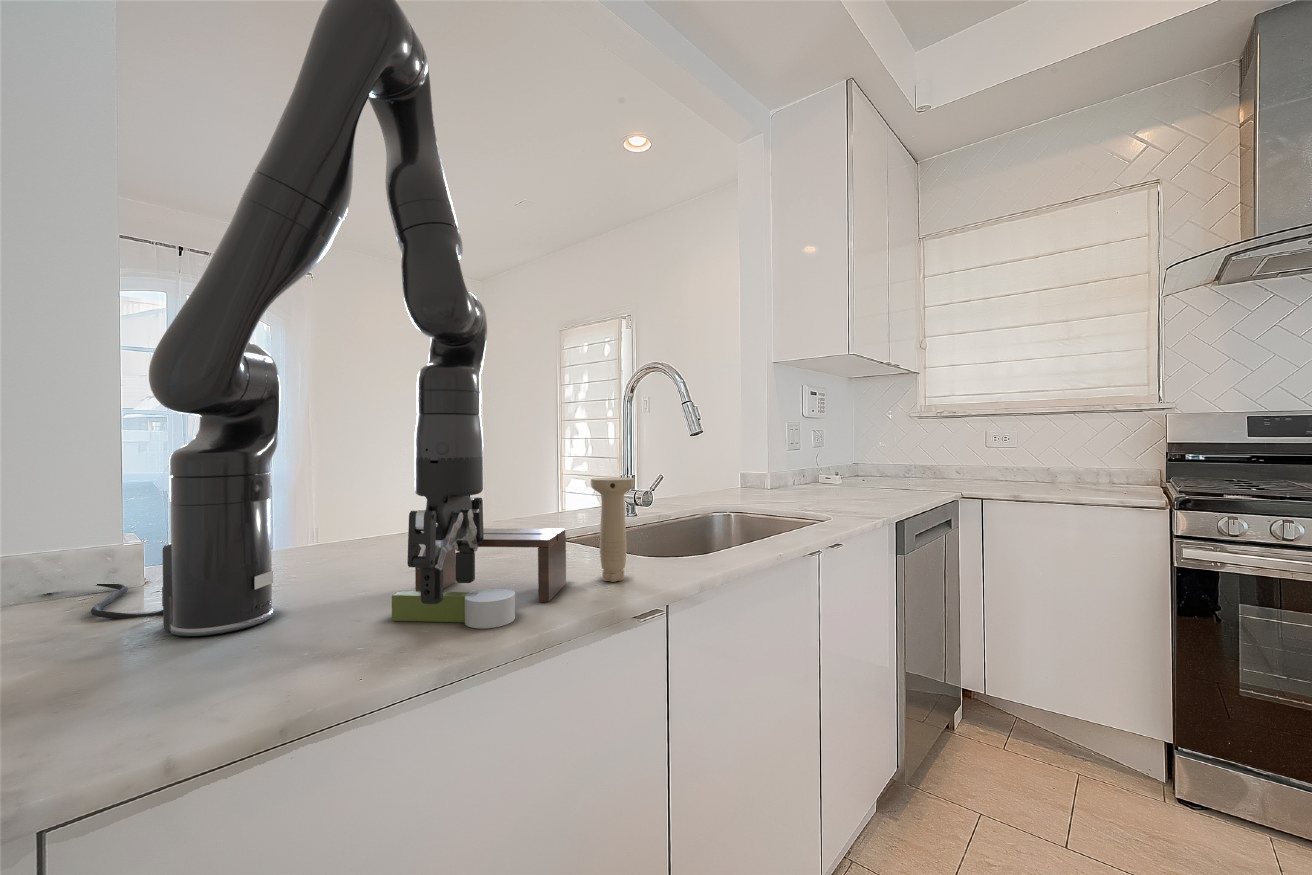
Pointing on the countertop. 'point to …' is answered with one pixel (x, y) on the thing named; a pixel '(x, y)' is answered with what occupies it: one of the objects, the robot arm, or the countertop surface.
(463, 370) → the robot arm
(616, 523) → the handle
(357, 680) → the countertop surface
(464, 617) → the green handled white cylinder
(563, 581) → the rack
